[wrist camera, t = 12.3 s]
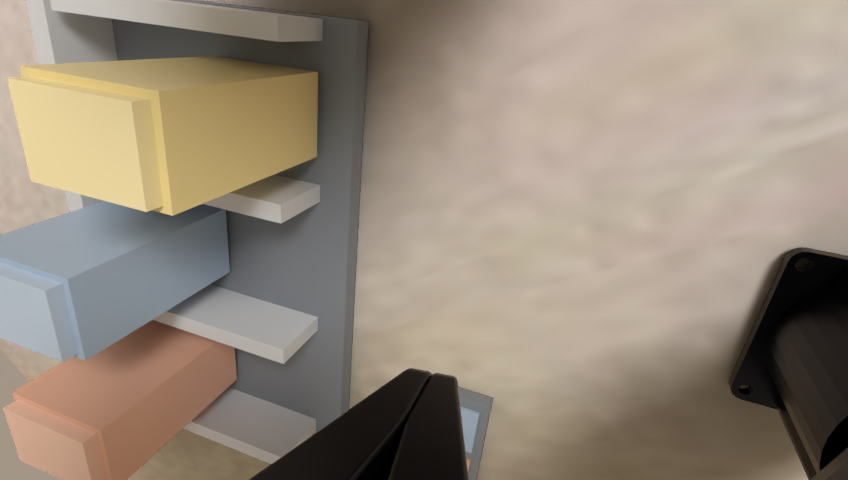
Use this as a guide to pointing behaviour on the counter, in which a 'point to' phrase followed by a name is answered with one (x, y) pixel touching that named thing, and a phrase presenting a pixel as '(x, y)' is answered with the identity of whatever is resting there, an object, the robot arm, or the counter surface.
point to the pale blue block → (104, 274)
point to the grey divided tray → (257, 209)
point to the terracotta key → (118, 403)
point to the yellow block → (163, 127)
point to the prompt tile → (474, 426)
